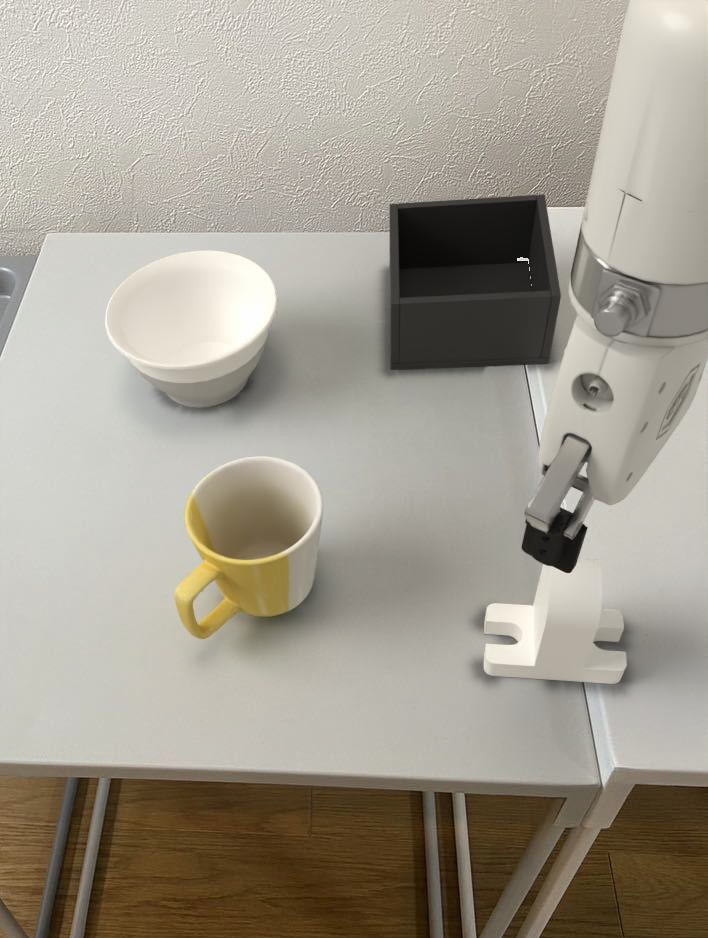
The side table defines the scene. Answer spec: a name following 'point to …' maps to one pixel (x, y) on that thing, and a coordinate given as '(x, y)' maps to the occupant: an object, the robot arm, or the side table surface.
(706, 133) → the robot arm
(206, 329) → the bowl
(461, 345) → the basket
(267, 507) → the mug
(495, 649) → the cable organizer
